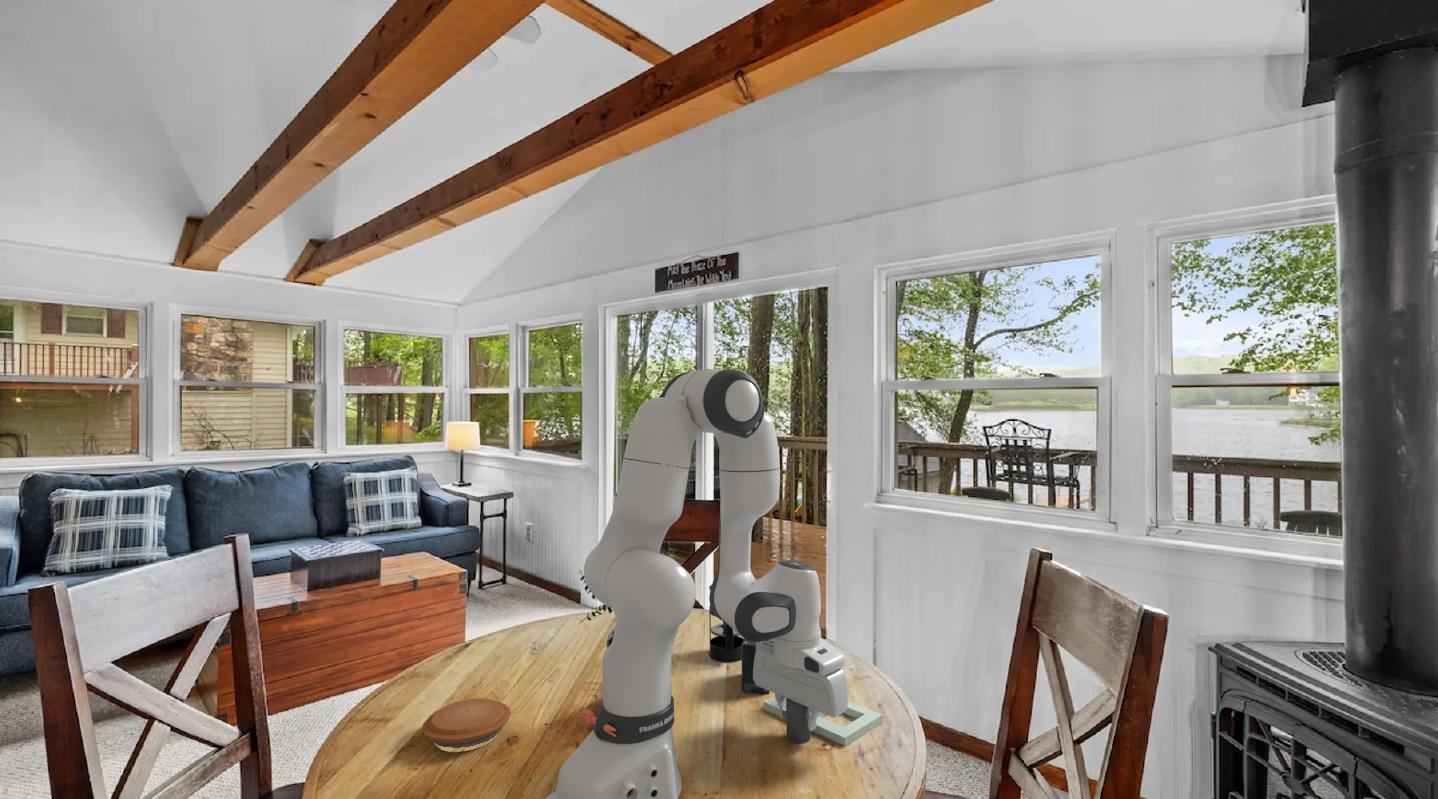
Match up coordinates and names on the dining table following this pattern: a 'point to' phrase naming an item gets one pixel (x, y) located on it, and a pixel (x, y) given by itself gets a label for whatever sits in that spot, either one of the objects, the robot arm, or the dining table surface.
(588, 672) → the dining table surface
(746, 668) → the small box
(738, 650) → the french press
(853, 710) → the pale green board
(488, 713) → the pie
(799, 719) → the grey cylinder with ball
